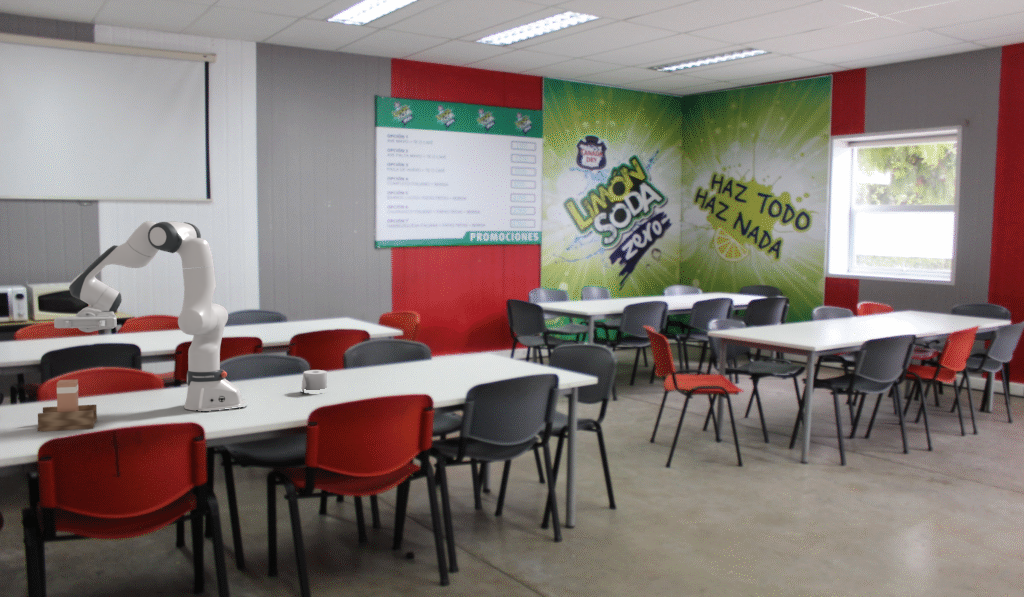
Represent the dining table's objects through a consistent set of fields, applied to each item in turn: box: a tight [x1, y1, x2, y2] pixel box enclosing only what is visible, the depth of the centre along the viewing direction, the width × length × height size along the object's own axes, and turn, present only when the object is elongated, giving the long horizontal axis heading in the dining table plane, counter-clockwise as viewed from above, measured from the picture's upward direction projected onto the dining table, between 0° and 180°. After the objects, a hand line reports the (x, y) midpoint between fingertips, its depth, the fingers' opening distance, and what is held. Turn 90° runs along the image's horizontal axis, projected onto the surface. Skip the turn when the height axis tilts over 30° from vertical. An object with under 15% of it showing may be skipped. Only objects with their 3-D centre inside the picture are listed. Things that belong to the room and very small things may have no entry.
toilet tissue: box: [301, 369, 328, 391], centre depth 328 cm, size 9×13×9 cm
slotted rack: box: [37, 404, 98, 432], centre depth 265 cm, size 16×12×6 cm
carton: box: [56, 379, 79, 412], centre depth 264 cm, size 6×6×14 cm
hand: (83, 324), depth 281 cm, fingers open, 8 cm apart
